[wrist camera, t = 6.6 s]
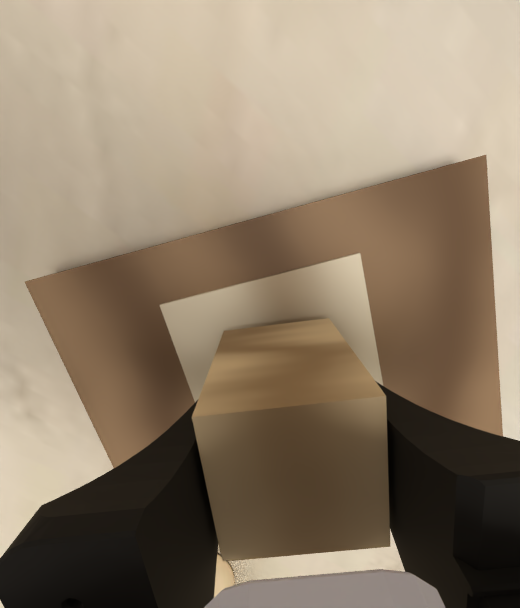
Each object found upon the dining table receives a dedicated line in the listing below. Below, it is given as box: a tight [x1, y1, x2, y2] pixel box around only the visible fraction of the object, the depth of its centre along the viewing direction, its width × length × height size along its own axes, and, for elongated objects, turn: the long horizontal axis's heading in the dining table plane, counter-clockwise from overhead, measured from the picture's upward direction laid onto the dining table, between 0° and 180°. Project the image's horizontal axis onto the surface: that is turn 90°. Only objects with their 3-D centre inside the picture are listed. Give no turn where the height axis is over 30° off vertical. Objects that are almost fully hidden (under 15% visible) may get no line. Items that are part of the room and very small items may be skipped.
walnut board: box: [25, 155, 503, 468], centre depth 15 cm, size 20×14×2 cm
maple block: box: [192, 318, 390, 562], centre depth 10 cm, size 4×4×6 cm
